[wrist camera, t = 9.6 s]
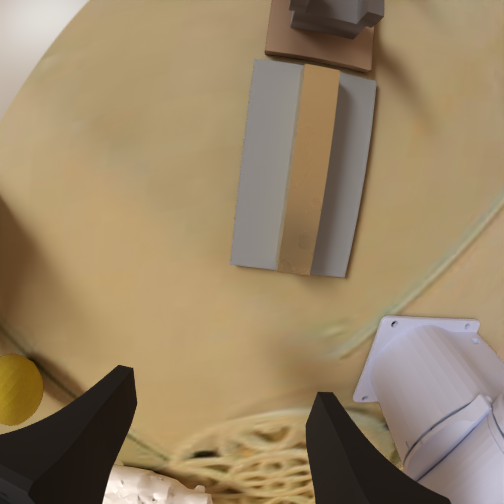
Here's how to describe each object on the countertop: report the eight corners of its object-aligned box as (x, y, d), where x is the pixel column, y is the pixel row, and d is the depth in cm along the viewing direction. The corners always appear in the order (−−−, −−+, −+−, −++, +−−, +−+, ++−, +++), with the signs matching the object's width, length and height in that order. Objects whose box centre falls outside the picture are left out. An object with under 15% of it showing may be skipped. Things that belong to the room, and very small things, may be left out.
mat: (373, 82, 16) (376, 81, 16) (342, 274, 20) (344, 277, 19) (254, 60, 16) (254, 58, 15) (230, 261, 20) (230, 264, 19)
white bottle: (220, 494, 29) (215, 550, 21) (81, 475, 30) (62, 519, 22) (207, 460, 26) (198, 527, 19) (53, 438, 27) (28, 486, 20)
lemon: (57, 356, 23) (11, 417, 15) (56, 395, 24) (20, 451, 17) (10, 327, 22) (-41, 377, 15) (13, 368, 24) (-28, 417, 16)
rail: (332, 77, 16) (340, 70, 14) (304, 263, 19) (309, 275, 17) (300, 71, 16) (305, 63, 14) (275, 260, 19) (276, 271, 17)
